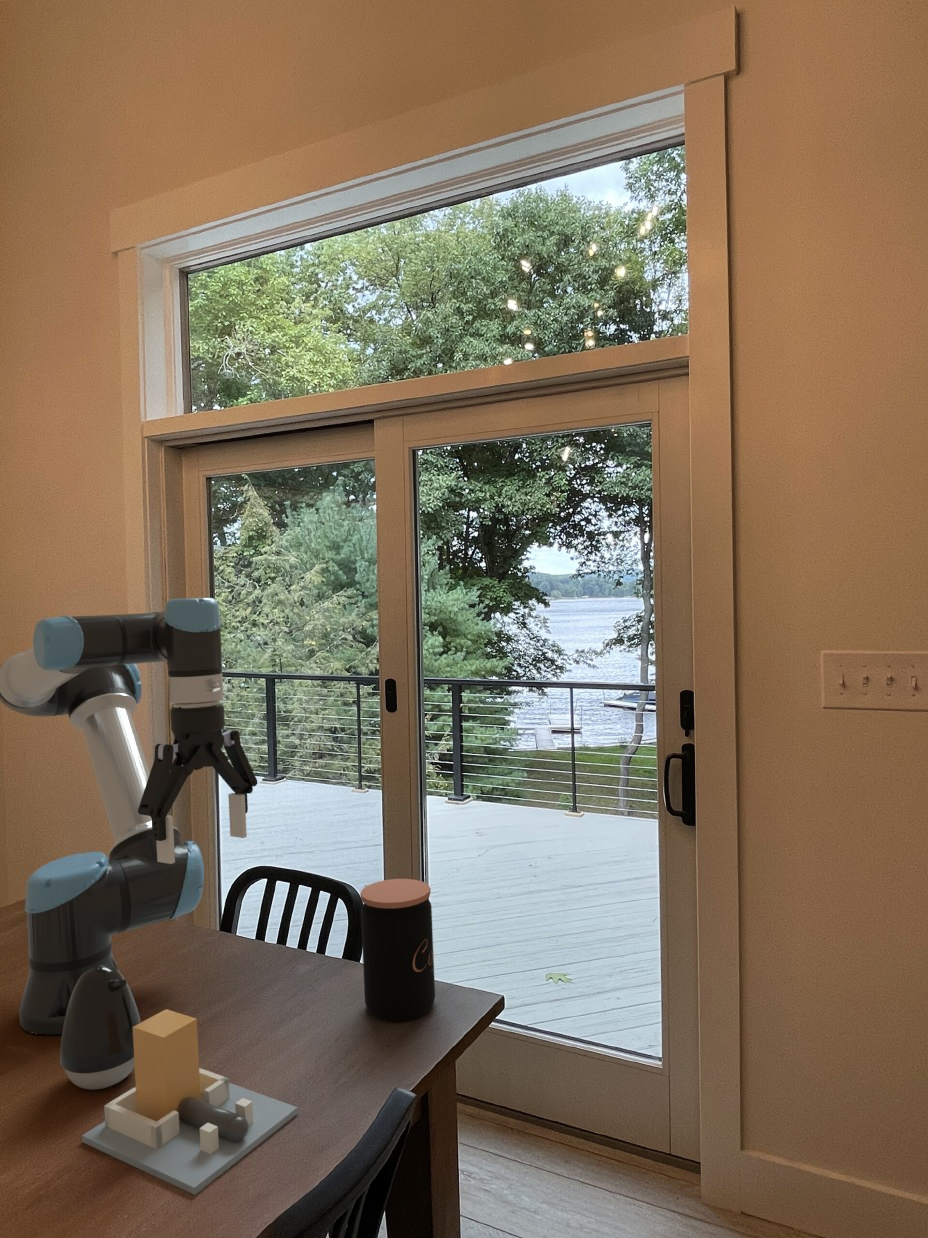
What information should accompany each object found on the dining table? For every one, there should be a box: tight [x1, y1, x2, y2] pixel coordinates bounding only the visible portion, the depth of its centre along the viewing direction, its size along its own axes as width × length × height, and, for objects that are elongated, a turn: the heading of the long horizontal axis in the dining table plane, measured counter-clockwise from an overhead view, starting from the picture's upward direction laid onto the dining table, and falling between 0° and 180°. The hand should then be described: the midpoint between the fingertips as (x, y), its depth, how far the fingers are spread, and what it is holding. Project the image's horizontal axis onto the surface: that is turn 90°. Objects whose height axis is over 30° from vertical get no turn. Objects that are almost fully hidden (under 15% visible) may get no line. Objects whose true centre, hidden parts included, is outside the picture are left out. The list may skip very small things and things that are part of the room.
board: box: [81, 1067, 299, 1196], centre depth 103 cm, size 19×16×3 cm
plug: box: [133, 1008, 249, 1142], centre depth 102 cm, size 16×5×11 cm, turn 59°
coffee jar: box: [359, 878, 436, 1023], centre depth 131 cm, size 11×11×18 cm
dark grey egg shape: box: [59, 964, 142, 1090], centre depth 114 cm, size 10×10×15 cm
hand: (204, 849), depth 126 cm, fingers open, 13 cm apart
